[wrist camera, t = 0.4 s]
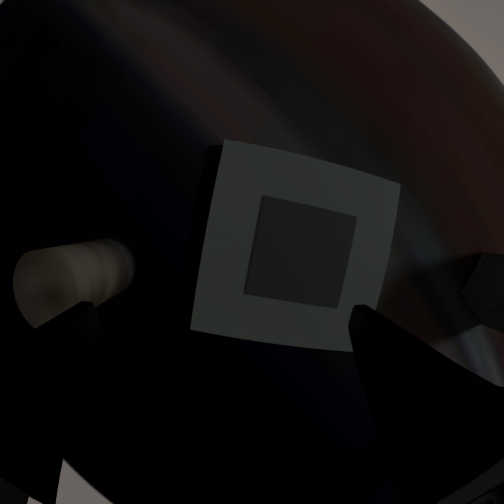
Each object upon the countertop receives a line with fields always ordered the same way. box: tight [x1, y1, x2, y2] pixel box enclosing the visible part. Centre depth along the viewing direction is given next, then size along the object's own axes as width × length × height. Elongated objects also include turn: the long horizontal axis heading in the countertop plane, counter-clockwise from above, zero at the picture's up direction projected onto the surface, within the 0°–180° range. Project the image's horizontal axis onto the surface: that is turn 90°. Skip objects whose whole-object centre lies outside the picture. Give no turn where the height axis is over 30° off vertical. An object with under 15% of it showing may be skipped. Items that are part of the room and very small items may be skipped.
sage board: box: [190, 139, 401, 352], centre depth 24 cm, size 16×16×2 cm
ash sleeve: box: [13, 238, 136, 329], centre depth 18 cm, size 5×5×11 cm
